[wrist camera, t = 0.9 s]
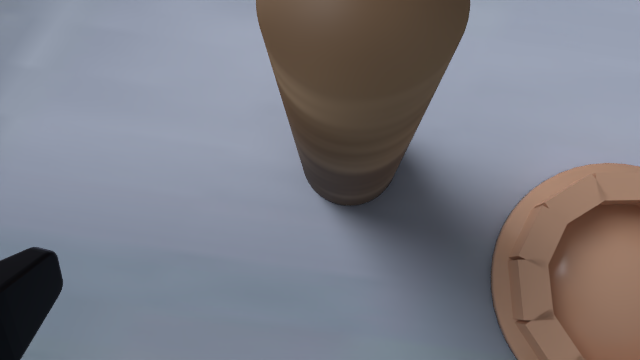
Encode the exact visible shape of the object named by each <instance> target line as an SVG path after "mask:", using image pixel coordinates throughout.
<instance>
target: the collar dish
mask: <svg viewBox="0 0 640 360" xmlns="http://www.w3.org/2000/svg"><path fill="white" fill-rule="evenodd" d="M491 293H492V299H493V306H494V310H495V313H496V317H497V321H498V324H499V326H500V329H501V331H502V333H503V336H504V338H505V340H506V342H507V344H508V346H509V347H510V349H511V351H512V353H513V354H514V356H515V357H516V359H517V360H640V167H639V166H633V165H627V164H614V163H603V164H590V165H586V166H581V167H576V168H573V169H570V170H567V171H565V172H562V173H559V174H557V175H556V176H554V177H552V178H550V179H548V180H546V181H544V182H542V183H541V184H539V185H538V186H537V187H535V188H534V189H532V190H531V191H530V192H529V193H528V194H527V195H526V196H525V197H523V198H522V199H521V200H520V201H519V203H518V204H517V205H516V206H515V208H514V209H513V210H512V211H511V213H510V214H509V216H508V218H507V219H506V221H505V223H504V225H503V226H502V229H501V231H500V233H499V236H498V238H497V241H496V245H495V249H494V253H493V257H492V265H491Z"/></svg>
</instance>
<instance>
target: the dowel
mask: <svg viewBox="0 0 640 360" xmlns="http://www.w3.org/2000/svg"><path fill="white" fill-rule="evenodd" d="M256 10H257V17H258V22H259V26H260V29H261V33H262V36H263V39H264V42H265V46H266V49H267V52H268V55H269V59H270V62H271V65H272V68H273V72H274V75H275V78H276V82H277V85H278V88H279V91H280V95H281V98H282V101H283V104H284V108H285V111H286V114H287V117H288V121H289V124H290V127H291V130H292V134H293V137H294V140H295V144H296V147H297V150H298V153H299V157H300V160H301V163H302V166H303V170H304V173H305V176H306V178H307V180H308V182H309V184H310V185H311V187H312V188H313V189H314V190H315V191H316V192H317V193H318V194H319V195H320V196H321V197H323V198H325V199H326V200H328V201H330V202H333V203H336V204H340V205H349V206H351V205H359V204H363V203H366V202H369V201H371V200H373V199H375V198H376V197H378V196H379V195H380V194H381V193H382V192H383V191H384V190H385V189H386V188H387V187H388V185H389V184H390V182H391V180H392V178H393V176H394V174H395V172H396V170H397V168H398V166H399V164H400V162H401V160H402V158H403V156H404V154H405V152H406V150H407V148H408V146H409V144H410V142H411V140H412V138H413V136H414V134H415V132H416V130H417V128H418V126H419V124H420V122H421V120H422V117H423V115H424V113H425V111H426V109H427V107H428V105H429V103H430V101H431V99H432V97H433V95H434V93H435V91H436V89H437V87H438V85H439V83H440V81H441V79H442V77H443V75H444V73H445V71H446V69H447V67H448V65H449V63H450V61H451V59H452V57H453V55H454V53H455V51H456V49H457V46H458V44H459V42H460V40H461V38H462V36H463V34H464V31H465V29H466V25H467V22H468V18H469V11H470V0H256Z"/></svg>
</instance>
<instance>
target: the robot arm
mask: <svg viewBox="0 0 640 360" xmlns="http://www.w3.org/2000/svg"><path fill="white" fill-rule="evenodd" d="M62 286H63V279H62V274H61V270H60V265H59V261H58V257H57V255H56V253H55V252H53V251H51V250H47V249H43V248H39V247H32V248H29V249H26V250H24V251H21V252H19V253H17V254H15V255H12V256H10V257H8V258H5V259H3V260H1V261H0V360H20V359H21V358H22V356H23V354H24V353H25V351H26V349H27V348H28V346H29V344H30V343H31V341H32V339H33V338H34V336H35V334H36V333H37V331H38V329H39V328H40V326H41V324H42V323H43V321H44V319H45V318H46V316H47V314H48V313H49V311H50V309H51V308H52V306H53V304H54V303H55V301H56V299H57V298H58V296H59V294H60V292H61V290H62Z"/></svg>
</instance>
